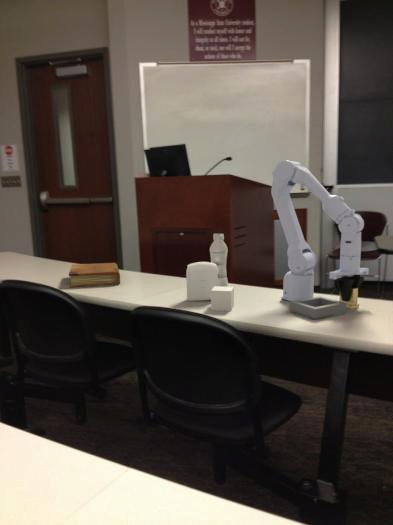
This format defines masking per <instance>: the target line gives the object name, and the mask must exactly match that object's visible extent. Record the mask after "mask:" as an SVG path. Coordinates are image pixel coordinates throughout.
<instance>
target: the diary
mask: <svg viewBox="0 0 393 525" xmlns="http://www.w3.org/2000/svg"><path fill="white" fill-rule="evenodd" d="M68 277H70V284H69V286H68V287H69V288H85V287H86V286H90V287H99V286H98V285H109V286H120V285H121V273H120V271H119V267H118V264H117V263H116V262H104V263H103V262H102V263H81V264H80V263H79V264H77V263H76V264H71V265H70V270H69V272H68ZM119 284H120V285H119ZM86 288H87V287H86Z"/></svg>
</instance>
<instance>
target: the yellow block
mask: <svg viewBox="0 0 393 525" xmlns="http://www.w3.org/2000/svg"><path fill="white" fill-rule="evenodd" d="M358 295H359V289H358V288H355V287H351V291H350V299H349V302H346V301H342V298H341V293H340V292H339V300H338V301H340V302H344V303H346V309H348V310H354V309H359V308H360V304H358V299H359V298H358Z"/></svg>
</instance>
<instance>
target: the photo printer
mask: <svg viewBox="0 0 393 525" xmlns="http://www.w3.org/2000/svg"><path fill="white" fill-rule="evenodd" d="M186 267H187V268H186V272H185V273H186V274H185V278H186V300H187V301H189V302H194V301H195V302H196V301H197V302H199V301H211V290H212V289H213V287H214V286H218V269H217V266H216V264H214V263H211V261H210V262H209V261H198V262H191V263H189V264H187V266H186Z"/></svg>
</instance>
